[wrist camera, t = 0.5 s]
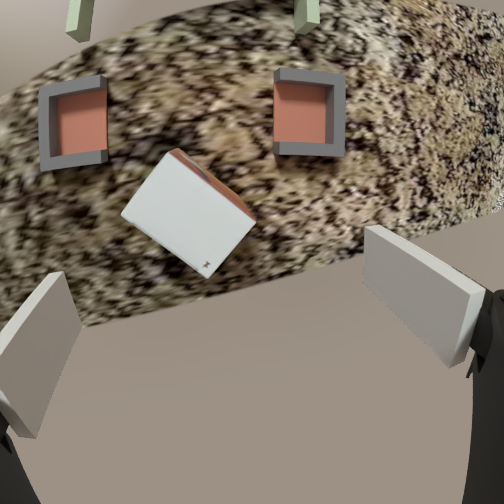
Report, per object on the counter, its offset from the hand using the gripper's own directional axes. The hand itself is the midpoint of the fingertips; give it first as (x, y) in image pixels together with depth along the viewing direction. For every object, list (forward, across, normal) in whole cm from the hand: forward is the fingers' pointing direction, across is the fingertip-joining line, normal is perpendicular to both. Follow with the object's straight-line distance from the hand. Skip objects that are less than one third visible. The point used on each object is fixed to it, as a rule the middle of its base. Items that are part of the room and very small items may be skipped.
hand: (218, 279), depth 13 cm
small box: (+20, -1, 0) cm, 20 cm away
